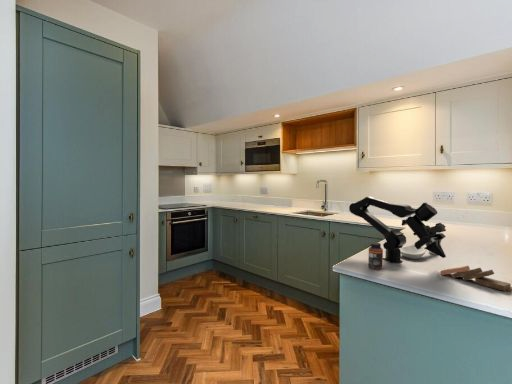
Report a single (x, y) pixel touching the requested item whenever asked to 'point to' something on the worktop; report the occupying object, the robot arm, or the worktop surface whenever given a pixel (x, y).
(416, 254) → the spoon rest
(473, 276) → the walnut domino
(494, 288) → the walnut domino
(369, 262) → the supplement bottle
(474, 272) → the walnut domino
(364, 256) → the worktop surface
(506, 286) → the walnut domino
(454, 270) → the terracotta domino
